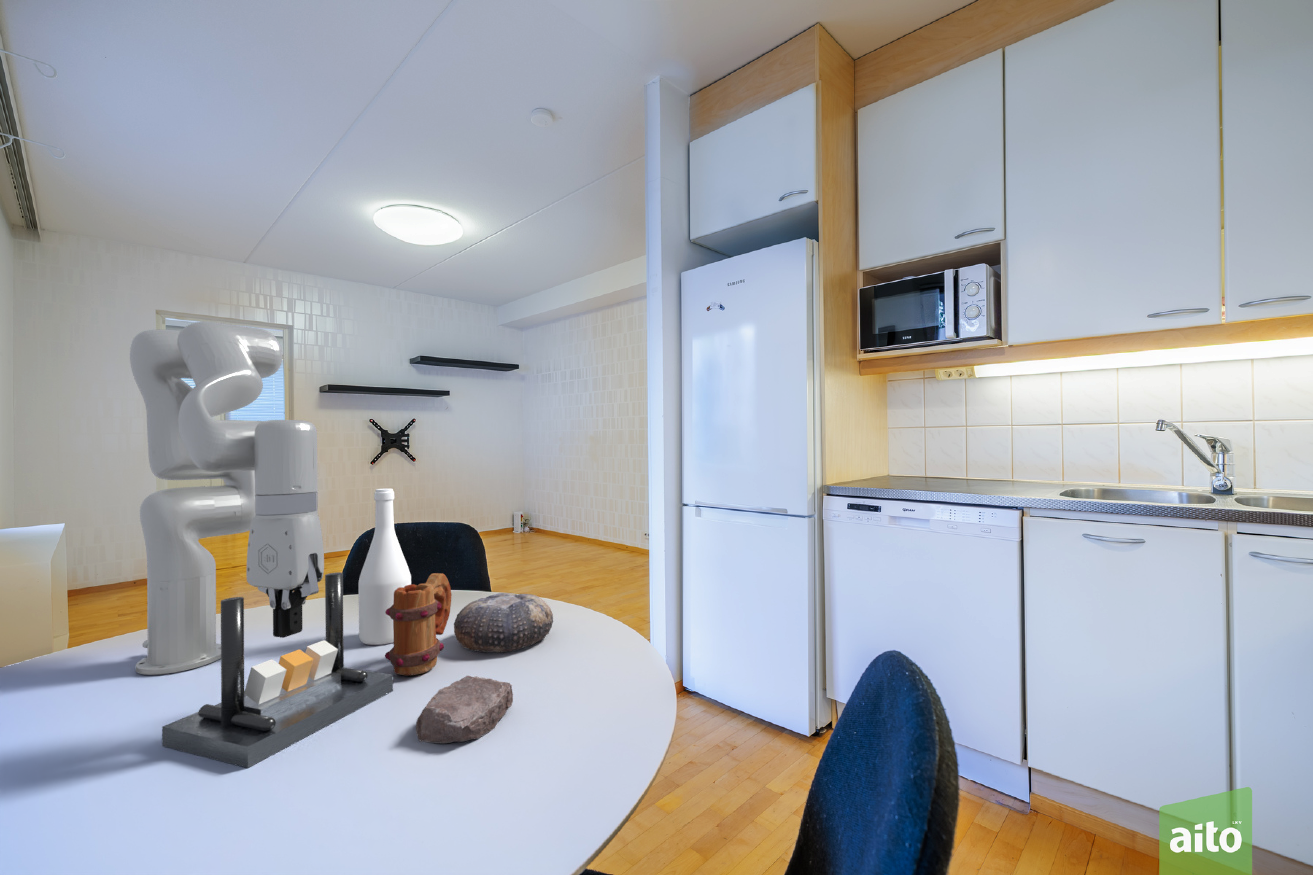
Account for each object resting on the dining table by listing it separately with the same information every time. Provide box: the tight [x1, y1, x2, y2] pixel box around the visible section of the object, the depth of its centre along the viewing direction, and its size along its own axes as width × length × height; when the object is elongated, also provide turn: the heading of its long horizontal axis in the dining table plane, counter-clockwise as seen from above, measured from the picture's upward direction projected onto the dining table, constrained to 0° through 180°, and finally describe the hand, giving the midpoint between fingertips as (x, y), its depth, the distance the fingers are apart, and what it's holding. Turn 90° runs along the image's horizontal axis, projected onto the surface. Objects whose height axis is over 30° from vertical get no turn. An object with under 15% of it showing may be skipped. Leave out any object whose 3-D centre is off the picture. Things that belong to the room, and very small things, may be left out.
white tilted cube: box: [244, 659, 286, 705], centre depth 75 cm, size 3×3×4 cm
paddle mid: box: [278, 649, 313, 692], centre depth 79 cm, size 3×3×4 cm
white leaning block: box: [304, 639, 338, 680], centre depth 83 cm, size 3×3×4 cm
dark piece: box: [161, 572, 394, 769], centre depth 79 cm, size 16×22×18 cm
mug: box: [384, 572, 453, 677], centre depth 97 cm, size 15×8×15 cm, turn 168°
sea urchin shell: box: [453, 592, 554, 653], centre depth 109 cm, size 19×19×10 cm
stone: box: [415, 675, 514, 744], centre depth 76 cm, size 12×9×5 cm
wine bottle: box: [358, 488, 412, 646], centre depth 112 cm, size 10×10×30 cm
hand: (288, 633), depth 79 cm, fingers closed
